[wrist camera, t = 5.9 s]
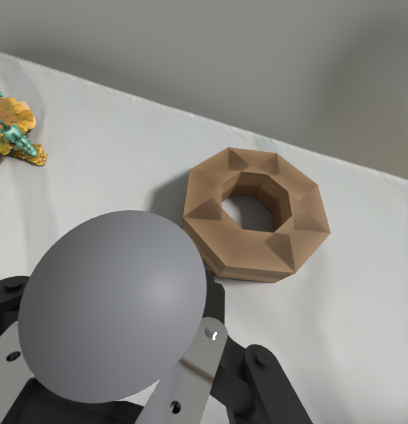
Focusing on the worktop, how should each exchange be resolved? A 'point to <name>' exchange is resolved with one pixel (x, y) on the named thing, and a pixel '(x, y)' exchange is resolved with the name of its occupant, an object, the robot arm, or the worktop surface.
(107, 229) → the dowel
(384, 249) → the worktop surface
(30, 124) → the green toy figurine
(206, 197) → the brown wooden ring
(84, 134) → the worktop surface
